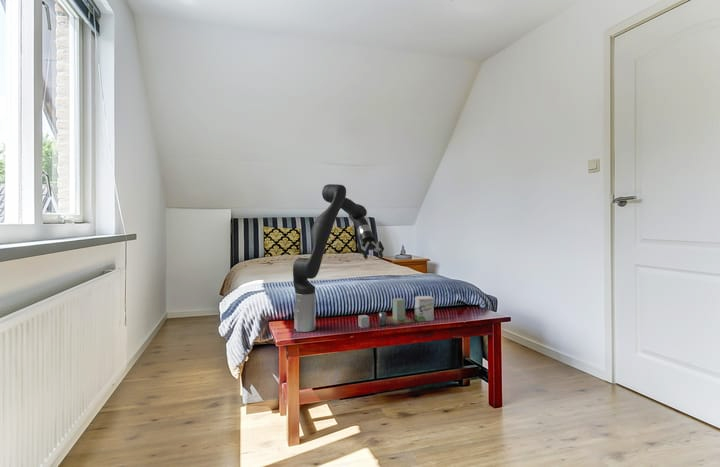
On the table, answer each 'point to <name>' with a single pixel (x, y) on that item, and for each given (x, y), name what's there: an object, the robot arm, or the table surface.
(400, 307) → the sage block
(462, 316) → the table surface
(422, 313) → the ink box
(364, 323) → the grey block
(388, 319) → the walnut board
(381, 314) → the metal cylinder
